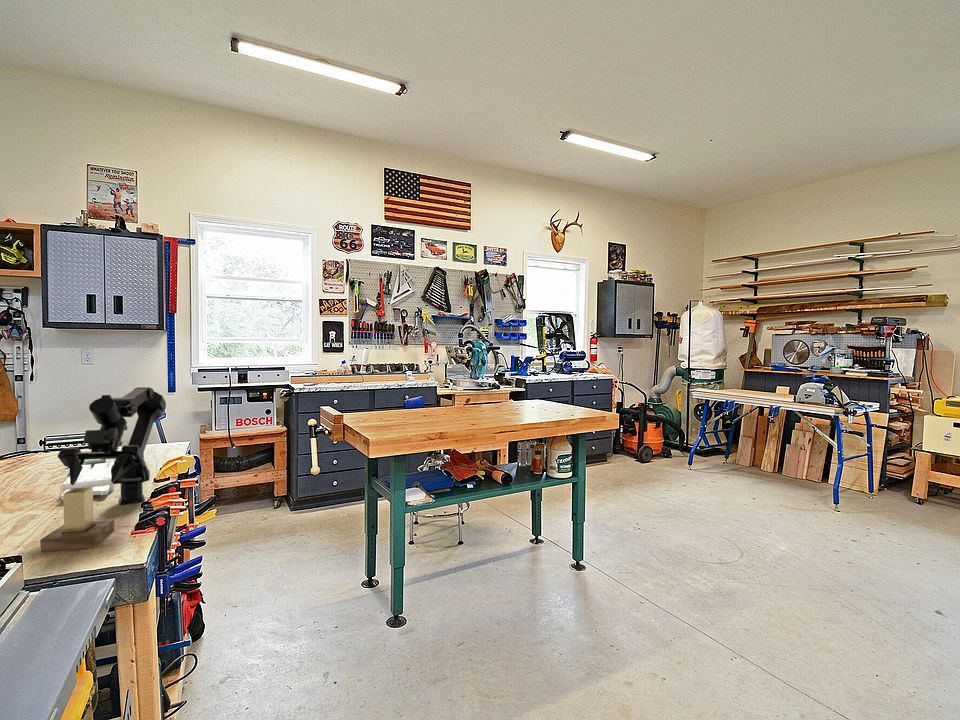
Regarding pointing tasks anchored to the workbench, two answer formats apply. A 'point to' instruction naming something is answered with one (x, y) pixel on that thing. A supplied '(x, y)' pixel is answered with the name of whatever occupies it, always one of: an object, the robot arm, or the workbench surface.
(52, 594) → the workbench surface
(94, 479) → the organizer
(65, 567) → the workbench surface
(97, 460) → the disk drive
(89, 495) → the pale yellow rectangular block
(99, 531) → the walnut block
